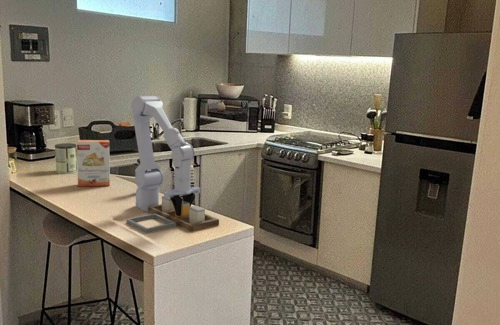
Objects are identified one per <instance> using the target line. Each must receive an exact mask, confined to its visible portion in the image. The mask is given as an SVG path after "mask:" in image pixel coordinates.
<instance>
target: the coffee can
mask: <svg viewBox="0 0 500 325" xmlns="http://www.w3.org/2000/svg"><path fill="white" fill-rule="evenodd" d="M54 149H55V150H54V153H55V154H54V155H55V169H56V170H55V173H57V174H62V175H64V174H66V175H67V174H69V175H70V174H75V173H78V163H77V143H69V142H68V143H67V142H64V143H58V144H55V145H54Z"/></svg>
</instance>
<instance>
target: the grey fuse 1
mask: <svg viewBox="0 0 500 325" xmlns="http://www.w3.org/2000/svg"><path fill="white" fill-rule="evenodd" d="M161 204H162V212H163V211H168V210H173V209H175V208H174V206H173V203H172V201H171V199H170V198H168V199H167V198H164V195H162V196H161Z"/></svg>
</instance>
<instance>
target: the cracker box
mask: <svg viewBox="0 0 500 325" xmlns="http://www.w3.org/2000/svg"><path fill="white" fill-rule="evenodd" d="M110 155H111V154H110V140H109V139H103V140H102V139H101V140H99V139H98V140H97V139H96V140H94V139H78V140H77V141H76V158H77V187H78V188H79V187H110V186H111V185H110V184H111V175H110V174H111V173H110V172H111V170H110V168H111V167H110V166H111V163H110V160H111V158H110V157H111V156H110Z"/></svg>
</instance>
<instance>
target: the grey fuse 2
mask: <svg viewBox="0 0 500 325" xmlns="http://www.w3.org/2000/svg"><path fill="white" fill-rule="evenodd" d="M205 214H206V209H205V208H203V207H201V206H198V205H194V206H193V205H191V207H189V223H190V224H194V223H198V222H203V221H205Z"/></svg>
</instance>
